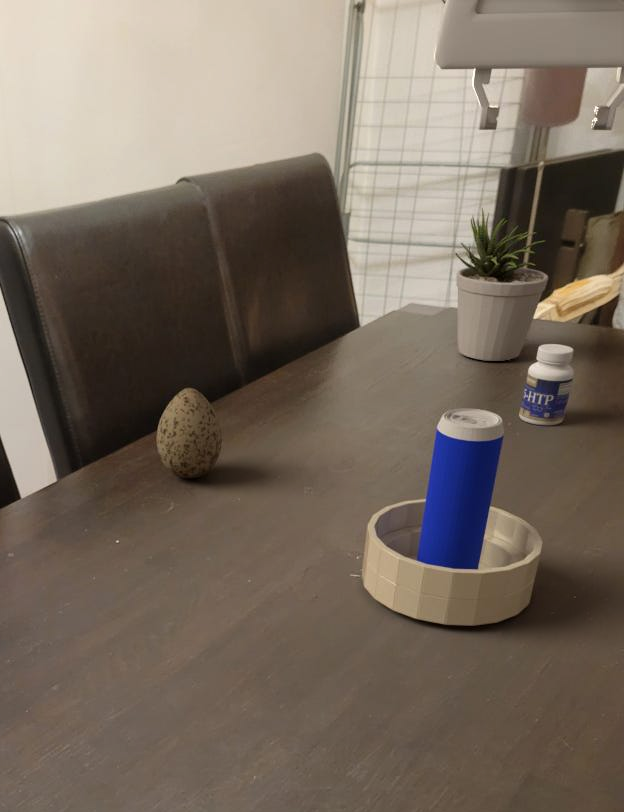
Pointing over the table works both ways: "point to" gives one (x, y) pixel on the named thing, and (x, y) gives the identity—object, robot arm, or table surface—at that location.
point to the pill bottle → (547, 386)
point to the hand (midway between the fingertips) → (543, 129)
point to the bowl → (450, 569)
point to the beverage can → (460, 488)
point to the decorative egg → (189, 435)
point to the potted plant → (496, 297)
